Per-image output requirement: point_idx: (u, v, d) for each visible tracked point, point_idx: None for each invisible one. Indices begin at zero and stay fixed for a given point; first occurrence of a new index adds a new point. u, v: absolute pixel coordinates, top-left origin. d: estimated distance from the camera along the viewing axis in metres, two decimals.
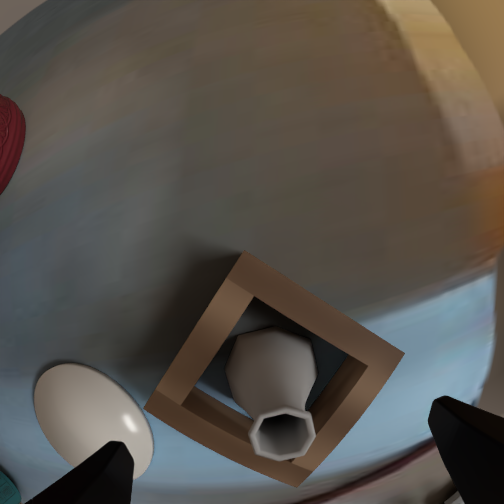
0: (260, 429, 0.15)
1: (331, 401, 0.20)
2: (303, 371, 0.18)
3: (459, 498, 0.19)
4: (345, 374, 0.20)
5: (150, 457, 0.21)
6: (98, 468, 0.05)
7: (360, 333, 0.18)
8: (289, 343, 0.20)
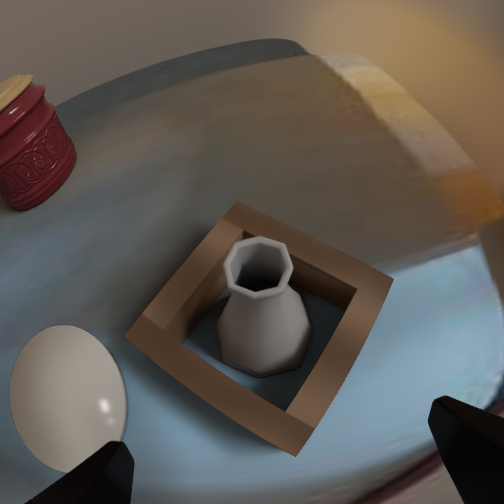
0: (240, 305, 0.15)
1: None
2: (289, 286, 0.19)
3: None
4: None
5: (118, 435, 0.17)
6: (98, 467, 0.05)
7: (342, 258, 0.20)
8: None
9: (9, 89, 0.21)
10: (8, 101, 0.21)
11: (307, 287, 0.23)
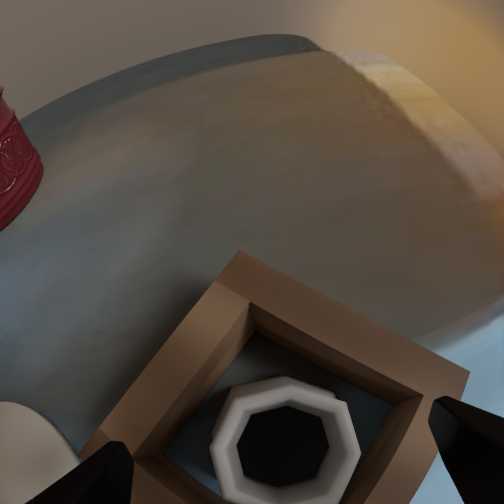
0: (247, 478, 0.07)
1: (374, 467, 0.10)
2: None
3: None
4: (390, 429, 0.12)
5: None
6: (98, 467, 0.05)
7: (404, 347, 0.12)
8: (303, 386, 0.13)
9: None
10: None
11: (343, 377, 0.14)
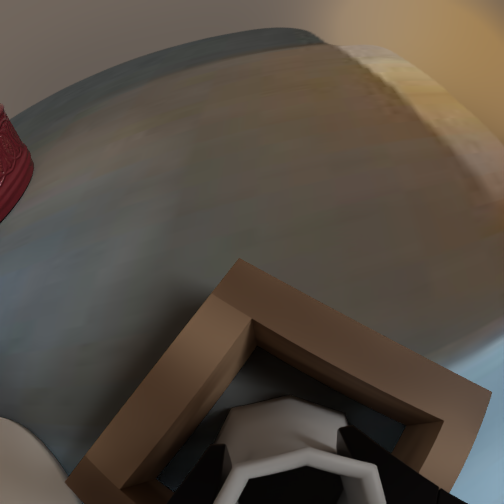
0: None
1: None
2: None
3: None
4: (404, 454, 0.10)
5: None
6: (210, 476, 0.05)
7: (424, 368, 0.10)
8: (311, 411, 0.11)
9: None
10: None
11: (355, 397, 0.13)
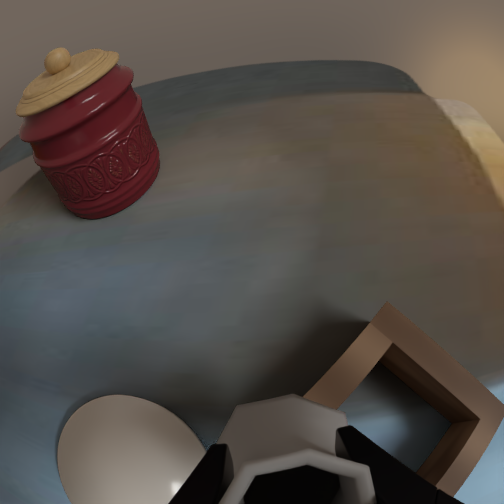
0: None
1: (440, 463, 0.13)
2: None
3: None
4: (451, 439, 0.15)
5: None
6: (212, 476, 0.05)
7: (475, 386, 0.14)
8: (312, 410, 0.12)
9: (87, 67, 0.19)
10: (84, 84, 0.19)
11: (428, 399, 0.17)
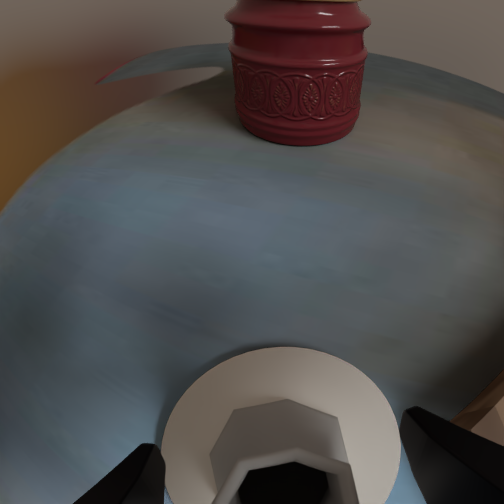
0: None
1: None
2: (328, 440, 0.10)
3: None
4: None
5: None
6: (133, 472, 0.05)
7: None
8: (306, 415, 0.13)
9: None
10: None
11: None
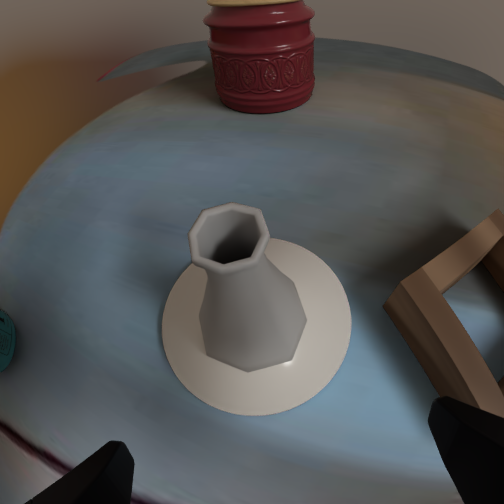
0: (213, 285, 0.13)
1: None
2: (275, 267, 0.17)
3: None
4: None
5: (324, 385, 0.17)
6: (98, 468, 0.05)
7: None
8: None
9: None
10: (286, 0, 0.22)
11: None
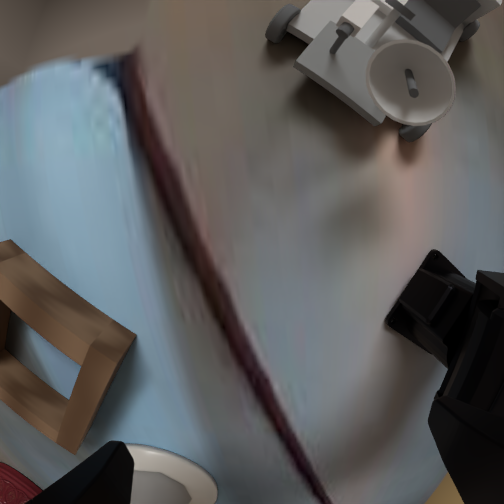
0: None
1: None
2: None
3: (362, 100, 0.15)
4: None
5: (159, 454, 0.22)
6: (98, 468, 0.05)
7: None
8: None
9: None
10: None
11: (8, 307, 0.19)
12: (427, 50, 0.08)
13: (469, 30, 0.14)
